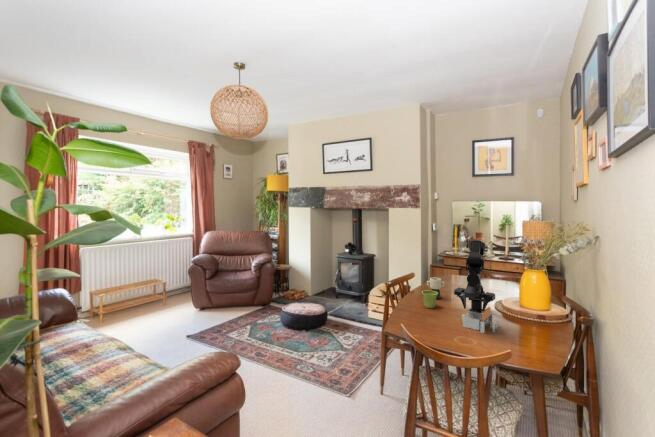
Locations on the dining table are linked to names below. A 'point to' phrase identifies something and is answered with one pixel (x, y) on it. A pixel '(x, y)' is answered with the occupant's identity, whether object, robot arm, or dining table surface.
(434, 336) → the dining table surface
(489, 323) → the lynch pin
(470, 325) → the block
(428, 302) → the plant pot
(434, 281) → the character mug
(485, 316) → the panel
